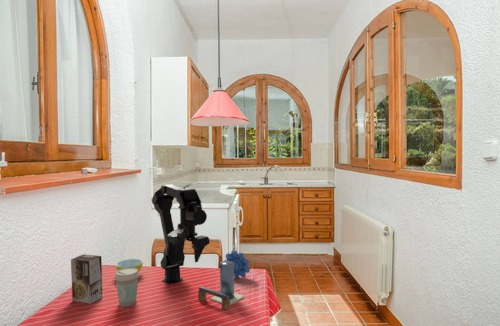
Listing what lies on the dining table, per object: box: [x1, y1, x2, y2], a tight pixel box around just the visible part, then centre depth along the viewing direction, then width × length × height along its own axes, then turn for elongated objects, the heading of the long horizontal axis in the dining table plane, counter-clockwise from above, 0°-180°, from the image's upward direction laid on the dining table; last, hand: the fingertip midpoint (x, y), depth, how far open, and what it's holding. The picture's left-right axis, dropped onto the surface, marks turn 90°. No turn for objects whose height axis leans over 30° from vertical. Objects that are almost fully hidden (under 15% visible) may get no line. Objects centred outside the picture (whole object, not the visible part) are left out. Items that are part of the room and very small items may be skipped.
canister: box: [219, 260, 235, 299], centre depth 124 cm, size 5×5×13 cm
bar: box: [198, 285, 229, 300], centre depth 120 cm, size 14×1×1 cm, turn 52°
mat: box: [210, 292, 245, 306], centre depth 124 cm, size 9×9×1 cm
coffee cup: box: [114, 268, 140, 308], centre depth 121 cm, size 8×8×12 cm
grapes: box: [224, 250, 251, 278], centre depth 144 cm, size 12×7×12 cm, turn 79°
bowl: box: [115, 258, 144, 273], centre depth 148 cm, size 11×12×6 cm
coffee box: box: [70, 254, 103, 304], centre depth 125 cm, size 9×6×16 cm
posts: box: [197, 289, 231, 311], centre depth 120 cm, size 14×2×4 cm, turn 52°
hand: (188, 259), depth 130 cm, fingers open, 9 cm apart
